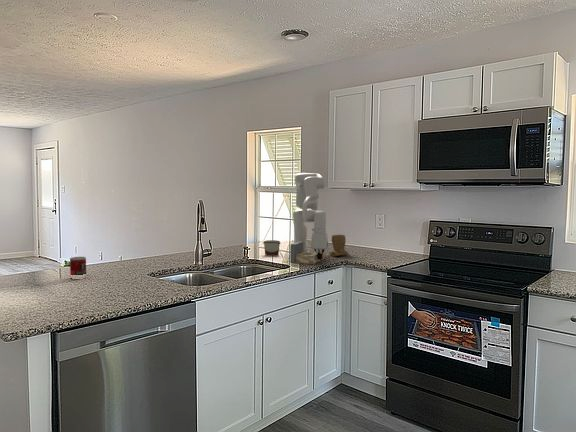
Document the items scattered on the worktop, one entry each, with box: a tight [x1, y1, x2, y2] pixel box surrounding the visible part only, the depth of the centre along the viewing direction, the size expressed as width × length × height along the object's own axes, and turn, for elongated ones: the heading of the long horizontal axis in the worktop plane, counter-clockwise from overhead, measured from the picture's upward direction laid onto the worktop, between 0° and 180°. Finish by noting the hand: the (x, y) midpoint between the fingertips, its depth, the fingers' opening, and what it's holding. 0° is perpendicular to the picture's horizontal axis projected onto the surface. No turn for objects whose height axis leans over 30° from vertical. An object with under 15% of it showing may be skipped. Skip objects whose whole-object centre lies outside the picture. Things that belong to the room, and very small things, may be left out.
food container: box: [262, 239, 281, 256], centre depth 318 cm, size 12×6×10 cm, turn 84°
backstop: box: [289, 242, 303, 264], centre depth 291 cm, size 14×3×12 cm, turn 155°
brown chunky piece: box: [329, 234, 350, 257], centre depth 316 cm, size 15×12×15 cm
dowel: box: [319, 249, 325, 261], centre depth 297 cm, size 4×4×12 cm
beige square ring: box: [294, 252, 321, 265], centre depth 288 cm, size 12×12×5 cm
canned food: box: [69, 256, 87, 275], centre depth 237 cm, size 8×8×11 cm
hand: (319, 259), depth 285 cm, fingers closed
